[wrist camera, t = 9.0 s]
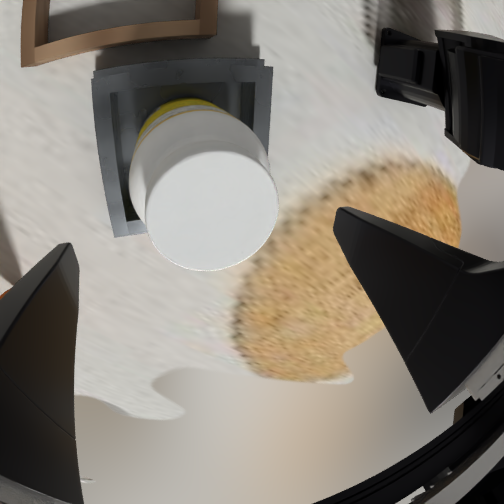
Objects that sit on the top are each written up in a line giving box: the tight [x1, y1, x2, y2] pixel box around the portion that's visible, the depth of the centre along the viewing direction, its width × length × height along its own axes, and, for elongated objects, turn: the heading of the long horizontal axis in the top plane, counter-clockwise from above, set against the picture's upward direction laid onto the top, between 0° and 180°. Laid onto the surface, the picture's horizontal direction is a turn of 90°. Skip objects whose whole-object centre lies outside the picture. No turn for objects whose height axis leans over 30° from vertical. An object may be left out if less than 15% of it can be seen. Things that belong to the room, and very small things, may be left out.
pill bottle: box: [129, 97, 279, 271], centre depth 14 cm, size 6×6×11 cm
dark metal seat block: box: [91, 58, 273, 238], centre depth 18 cm, size 11×11×4 cm
